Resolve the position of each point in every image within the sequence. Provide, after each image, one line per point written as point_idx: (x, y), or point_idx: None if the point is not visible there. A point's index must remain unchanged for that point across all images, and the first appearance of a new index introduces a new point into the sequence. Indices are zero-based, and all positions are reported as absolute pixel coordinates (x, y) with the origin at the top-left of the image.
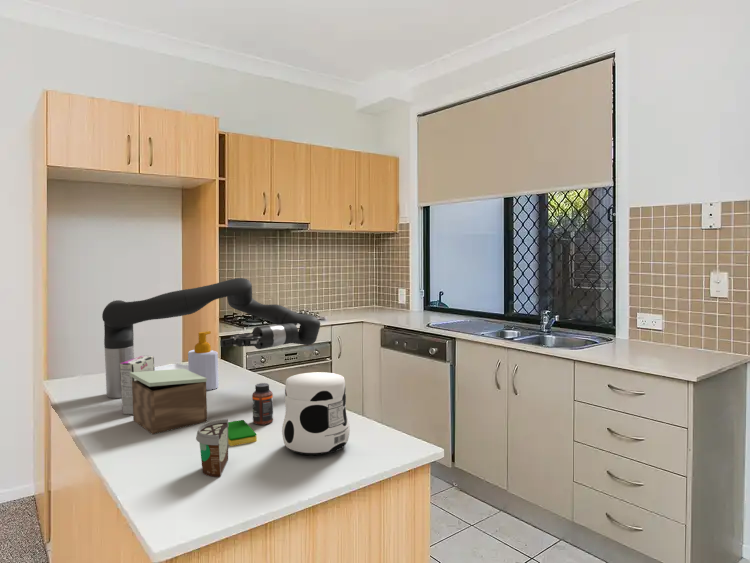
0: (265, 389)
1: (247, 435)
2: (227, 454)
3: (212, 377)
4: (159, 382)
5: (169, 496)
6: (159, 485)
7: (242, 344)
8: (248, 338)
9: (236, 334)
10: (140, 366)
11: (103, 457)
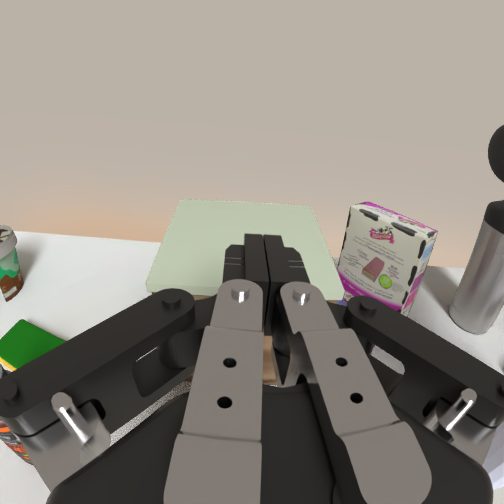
0: None
1: (2, 338)
2: (3, 293)
3: (494, 457)
4: (177, 209)
5: (23, 248)
6: (43, 251)
7: (165, 372)
8: (80, 355)
9: (493, 375)
10: (370, 227)
11: (158, 246)
